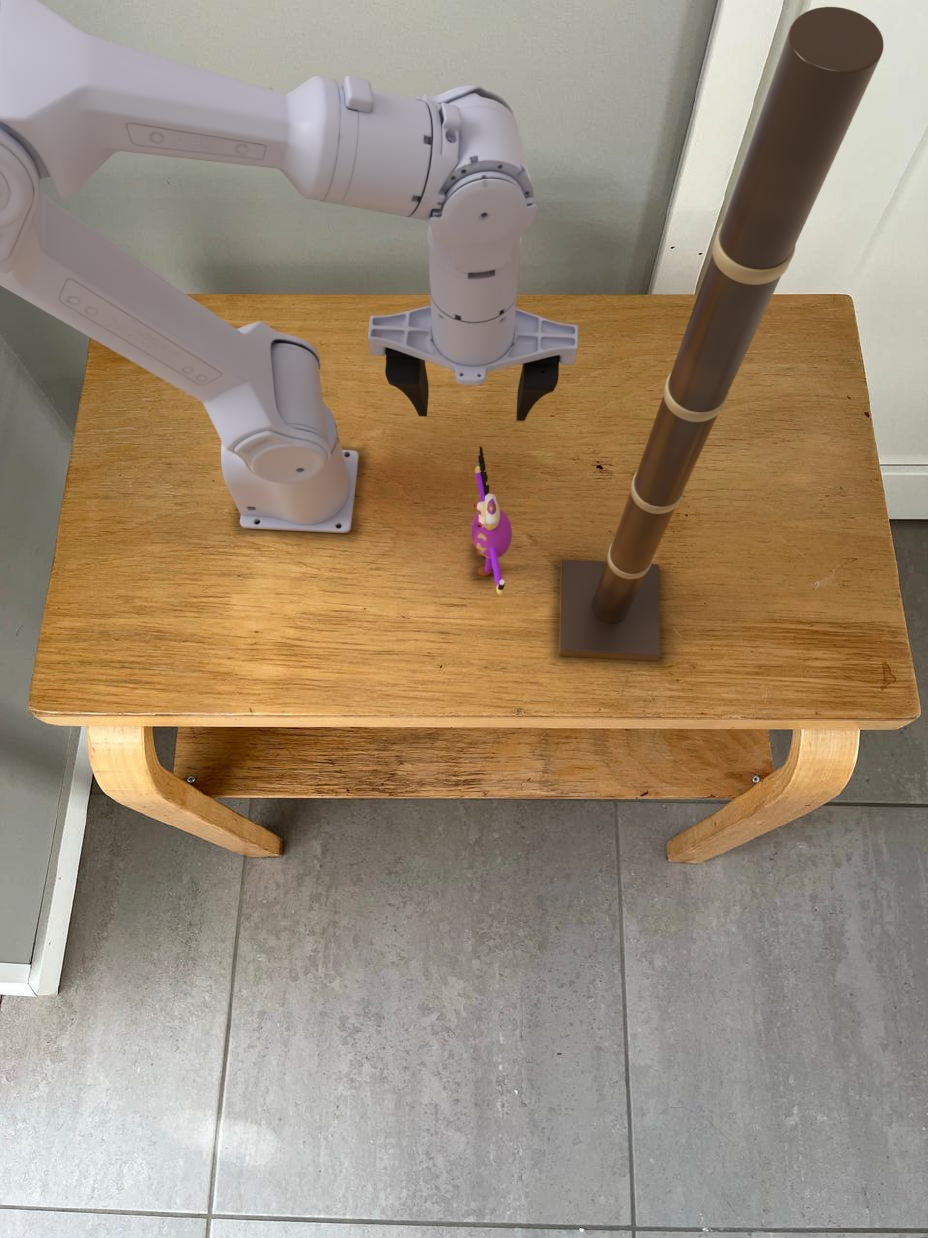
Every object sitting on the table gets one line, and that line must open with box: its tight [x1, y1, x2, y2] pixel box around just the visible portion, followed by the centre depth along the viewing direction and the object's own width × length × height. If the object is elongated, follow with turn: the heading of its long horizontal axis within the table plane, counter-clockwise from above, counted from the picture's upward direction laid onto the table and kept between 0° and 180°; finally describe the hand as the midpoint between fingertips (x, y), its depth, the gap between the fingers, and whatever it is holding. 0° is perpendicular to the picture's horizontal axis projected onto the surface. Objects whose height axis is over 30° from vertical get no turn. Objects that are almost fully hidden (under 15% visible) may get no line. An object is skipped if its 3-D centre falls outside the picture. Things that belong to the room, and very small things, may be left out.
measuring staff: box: [558, 6, 885, 662], centre depth 52 cm, size 8×8×50 cm
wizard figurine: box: [470, 446, 513, 596], centre depth 72 cm, size 11×3×12 cm, turn 9°
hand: (472, 407), depth 72 cm, fingers open, 7 cm apart
